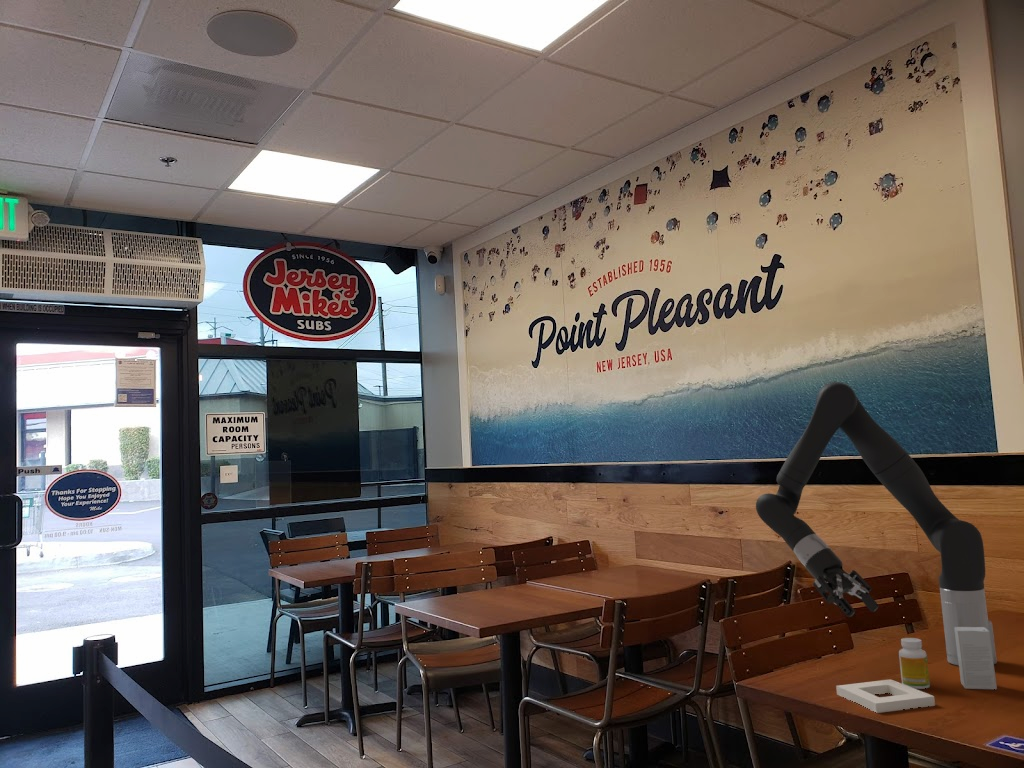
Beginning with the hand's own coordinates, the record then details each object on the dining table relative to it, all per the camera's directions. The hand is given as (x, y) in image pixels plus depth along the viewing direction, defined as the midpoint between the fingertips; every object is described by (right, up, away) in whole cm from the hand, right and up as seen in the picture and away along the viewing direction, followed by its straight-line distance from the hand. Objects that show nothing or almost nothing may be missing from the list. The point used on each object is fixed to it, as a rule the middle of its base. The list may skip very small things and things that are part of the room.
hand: (864, 612), depth 178 cm
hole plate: (-4, -12, -19) cm, 23 cm away
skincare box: (+18, -12, -14) cm, 26 cm away
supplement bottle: (+6, -13, -11) cm, 18 cm away
